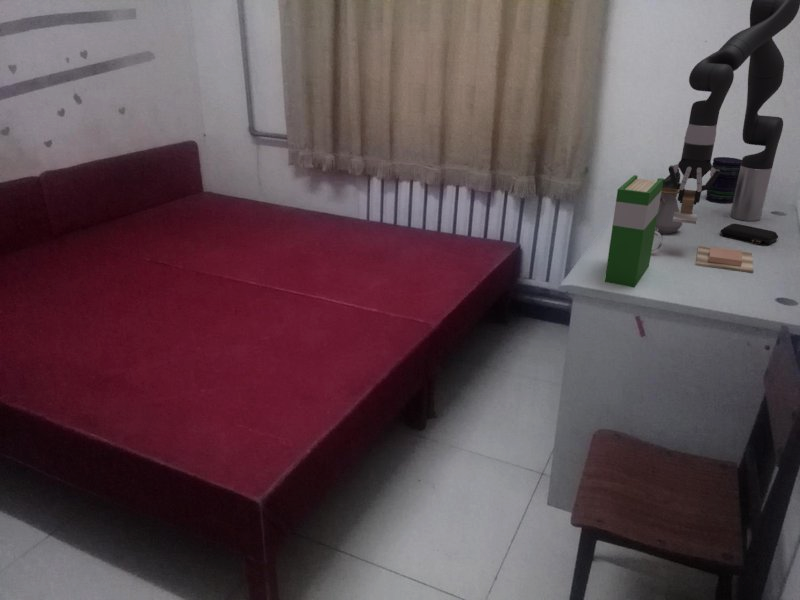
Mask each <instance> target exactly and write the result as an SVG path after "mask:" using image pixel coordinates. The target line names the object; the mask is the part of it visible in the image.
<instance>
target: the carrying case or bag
mask: <svg viewBox="0 0 800 600" xmlns="http://www.w3.org/2000/svg"><path fill="white" fill-rule="evenodd" d="M719 231H720V234H721V236H722V237H725V238H728V239H732V240H737V241H738V240H739V241H741V242H746V241H747V242H748V243H751V244H755V243H756V245H760V244H761V245H760V246H769V245H770V244H771V243H774V241H776V240H778V239H779V235H778V234H777V232H776V231H774V230H770V229H769V230H768V229H765V228H761V227H760V228H759V227H755V226H750V225H745V224H741V223H740V224H739V223H730V224H729V225H726V226H725V227H723V228H722V229H720V230H719ZM747 242H746V243H747Z"/></svg>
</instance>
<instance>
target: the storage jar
mask: <svg viewBox="0 0 800 600" xmlns="http://www.w3.org/2000/svg"><path fill="white" fill-rule="evenodd" d="M741 162H742V159H740V158H735V157H728V156H727V157H725V156H717V157H714V158H713V162H712V163H711V165H712V167H713V168H715V169H719V170H720V174H719V176H718V177H717V178H716V180H715V181H714V183H713V184H712V185H711V187H710V188H709V189H708V190H706V197H705V201H708V202H710V203H714V204H721V205H728V204H730V205H731V204H733V199H734V195H735V190H736V185H737V181H738V176H739V171H740V167H741Z"/></svg>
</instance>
